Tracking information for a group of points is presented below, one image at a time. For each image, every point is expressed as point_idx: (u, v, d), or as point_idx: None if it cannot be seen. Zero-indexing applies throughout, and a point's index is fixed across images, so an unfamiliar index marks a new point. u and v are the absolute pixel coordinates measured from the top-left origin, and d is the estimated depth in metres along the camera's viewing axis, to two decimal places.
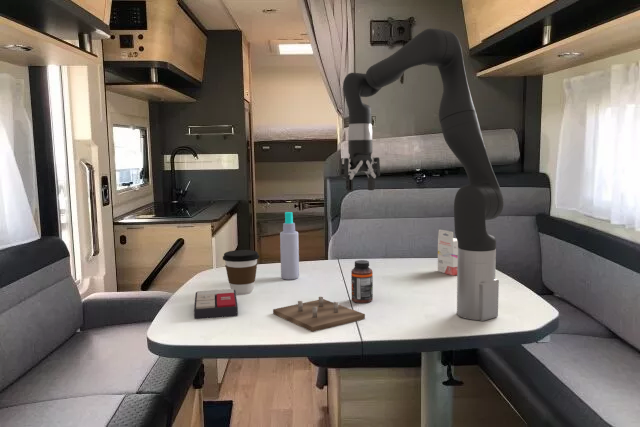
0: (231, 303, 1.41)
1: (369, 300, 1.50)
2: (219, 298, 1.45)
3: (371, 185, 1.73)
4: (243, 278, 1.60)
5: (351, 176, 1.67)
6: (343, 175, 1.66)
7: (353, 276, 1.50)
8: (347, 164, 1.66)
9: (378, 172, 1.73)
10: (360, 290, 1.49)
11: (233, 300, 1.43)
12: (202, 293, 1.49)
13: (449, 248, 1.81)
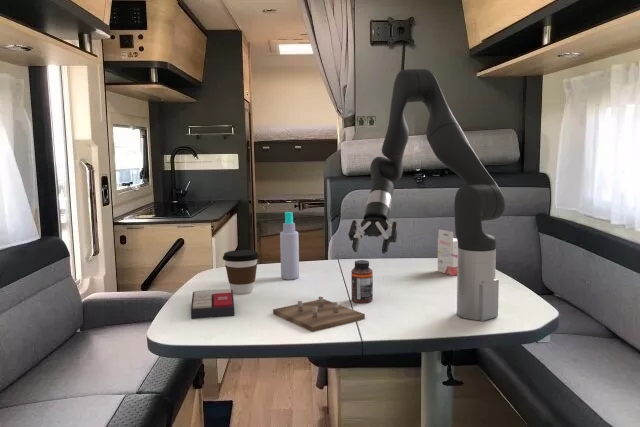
0: (228, 303, 1.41)
1: (369, 300, 1.50)
2: (216, 298, 1.45)
3: None
4: (243, 278, 1.60)
5: (356, 235, 1.62)
6: None
7: (353, 276, 1.50)
8: (353, 225, 1.65)
9: (393, 234, 1.59)
10: (360, 290, 1.49)
11: (230, 300, 1.43)
12: (199, 293, 1.50)
13: (449, 248, 1.81)
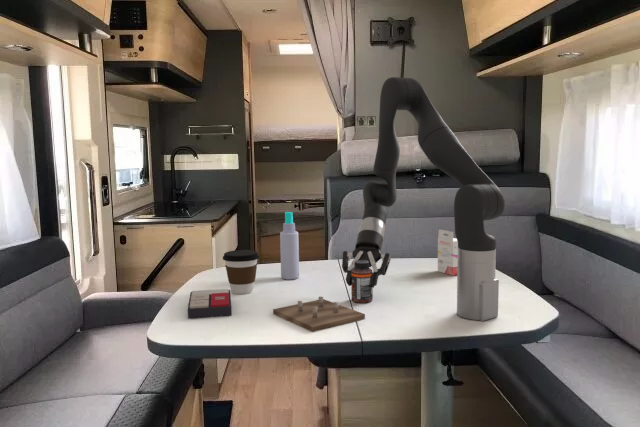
0: (225, 303, 1.41)
1: (369, 300, 1.50)
2: (213, 298, 1.45)
3: None
4: (243, 278, 1.60)
5: (350, 267, 1.53)
6: None
7: (353, 276, 1.50)
8: (345, 256, 1.56)
9: (382, 267, 1.51)
10: (360, 290, 1.49)
11: (227, 300, 1.43)
12: (196, 293, 1.50)
13: (449, 248, 1.81)
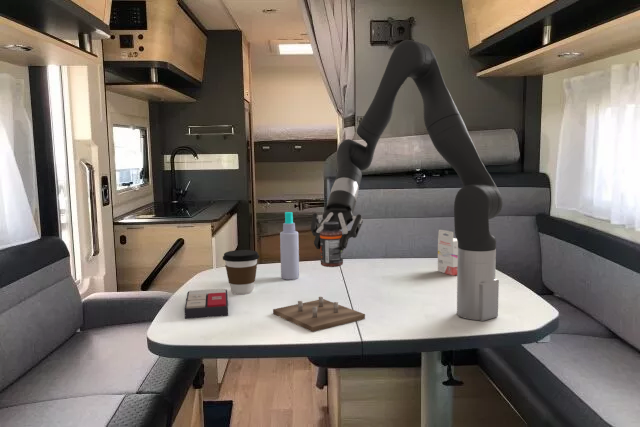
0: (221, 303, 1.41)
1: (339, 264, 1.40)
2: (210, 298, 1.45)
3: None
4: (243, 278, 1.60)
5: (319, 230, 1.43)
6: None
7: (321, 238, 1.40)
8: (314, 218, 1.46)
9: (353, 228, 1.41)
10: (329, 252, 1.39)
11: (224, 300, 1.43)
12: (194, 293, 1.50)
13: (449, 248, 1.81)
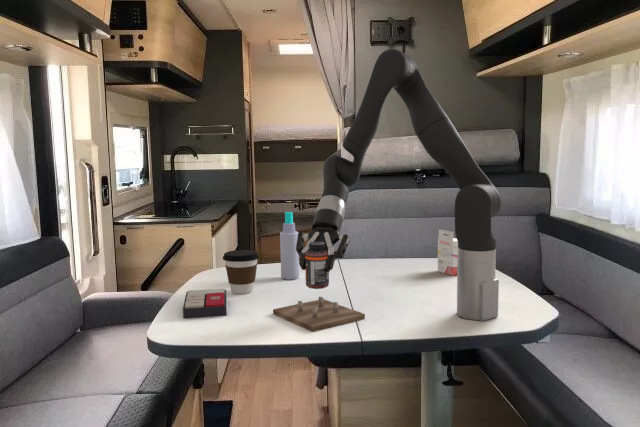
0: (220, 303, 1.41)
1: (324, 285, 1.36)
2: (209, 298, 1.45)
3: None
4: (243, 278, 1.60)
5: (304, 250, 1.39)
6: None
7: (307, 259, 1.36)
8: (300, 237, 1.42)
9: (339, 249, 1.37)
10: (314, 274, 1.35)
11: (222, 300, 1.43)
12: (192, 293, 1.50)
13: (449, 248, 1.81)
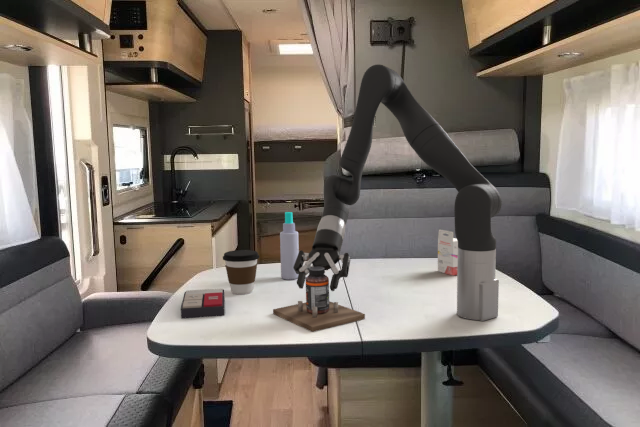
0: (218, 303, 1.41)
1: (325, 311, 1.37)
2: (207, 298, 1.45)
3: None
4: (243, 278, 1.60)
5: (302, 268, 1.40)
6: None
7: (307, 284, 1.37)
8: (300, 256, 1.43)
9: (343, 268, 1.37)
10: (315, 299, 1.36)
11: (220, 300, 1.43)
12: (190, 293, 1.50)
13: (449, 248, 1.81)
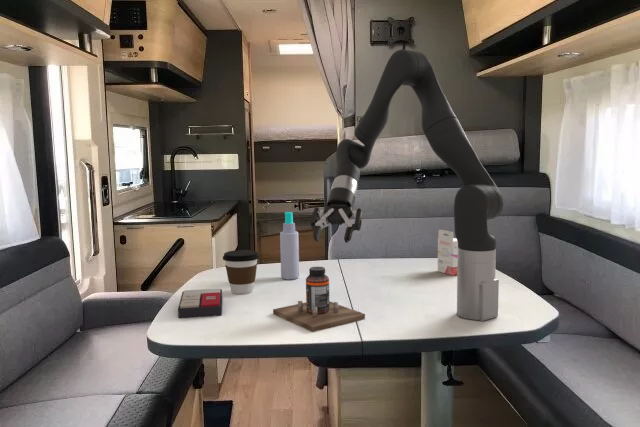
0: (215, 303, 1.41)
1: (325, 311, 1.37)
2: (204, 298, 1.45)
3: None
4: (243, 278, 1.60)
5: (317, 223, 1.51)
6: None
7: (307, 284, 1.37)
8: (315, 212, 1.54)
9: (356, 222, 1.48)
10: (315, 299, 1.36)
11: (218, 300, 1.44)
12: (188, 293, 1.50)
13: (449, 248, 1.81)
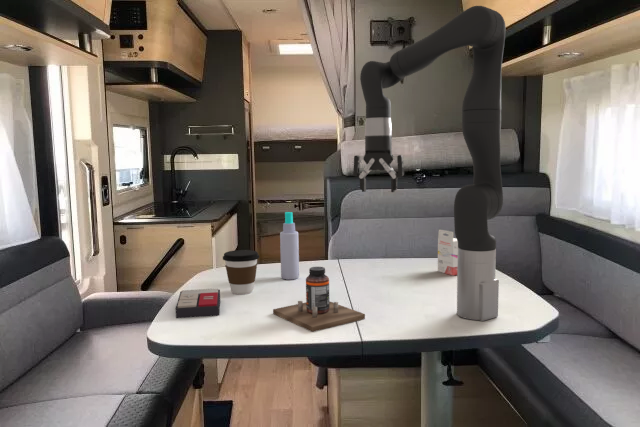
0: (213, 303, 1.41)
1: (325, 311, 1.37)
2: (202, 297, 1.45)
3: None
4: (243, 278, 1.60)
5: (361, 175, 1.55)
6: None
7: (307, 284, 1.37)
8: (356, 162, 1.55)
9: (400, 172, 1.52)
10: (315, 299, 1.36)
11: (215, 300, 1.44)
12: (186, 293, 1.50)
13: (449, 248, 1.81)
